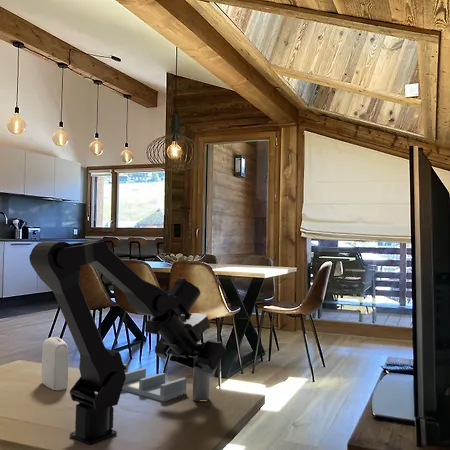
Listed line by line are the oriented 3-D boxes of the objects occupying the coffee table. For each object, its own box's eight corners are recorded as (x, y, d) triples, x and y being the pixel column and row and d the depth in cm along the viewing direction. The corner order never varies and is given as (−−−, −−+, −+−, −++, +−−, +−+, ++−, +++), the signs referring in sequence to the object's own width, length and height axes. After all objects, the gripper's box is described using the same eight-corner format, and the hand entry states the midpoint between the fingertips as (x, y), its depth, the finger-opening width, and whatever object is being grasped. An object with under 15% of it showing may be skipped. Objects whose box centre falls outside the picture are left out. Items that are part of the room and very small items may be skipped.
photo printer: (39, 382, 125) (40, 335, 125) (55, 380, 127) (56, 333, 128) (52, 392, 117) (54, 341, 117) (69, 389, 120) (71, 340, 120)
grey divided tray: (163, 401, 111) (164, 385, 111) (101, 383, 125) (101, 369, 125) (186, 393, 118) (186, 378, 118) (124, 377, 131) (124, 363, 131)
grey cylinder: (202, 403, 111) (203, 347, 111) (188, 399, 113) (189, 344, 114) (213, 398, 114) (214, 344, 115) (199, 395, 116) (200, 342, 117)
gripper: (221, 306, 106) (250, 349, 113) (164, 299, 118) (194, 338, 126) (195, 347, 99) (228, 389, 107) (139, 335, 111) (172, 374, 119)
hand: (205, 370), depth 115 cm, fingers closed on grey cylinder, 4 cm apart
